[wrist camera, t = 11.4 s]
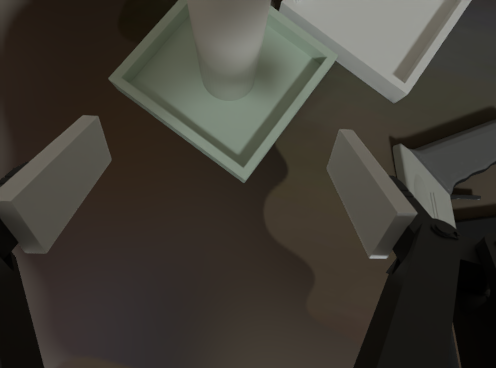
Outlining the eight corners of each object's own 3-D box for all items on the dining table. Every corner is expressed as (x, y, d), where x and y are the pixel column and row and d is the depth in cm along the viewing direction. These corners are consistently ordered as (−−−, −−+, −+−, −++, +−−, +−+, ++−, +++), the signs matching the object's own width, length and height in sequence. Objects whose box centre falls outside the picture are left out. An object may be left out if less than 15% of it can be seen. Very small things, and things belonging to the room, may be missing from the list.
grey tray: (354, -78, 28) (364, -99, 26) (462, 2, 28) (480, -14, 26) (277, 17, 26) (281, 1, 24) (393, 103, 26) (407, 94, 24)
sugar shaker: (222, 40, 25) (218, -145, 12) (265, 71, 25) (306, -81, 12) (190, 79, 24) (147, -75, 11) (233, 111, 24) (241, -6, 11)
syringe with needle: (599, 454, 22) (442, 490, 21) (564, 431, 25) (421, 462, 23) (522, 112, 25) (380, 124, 24) (497, 120, 28) (367, 132, 26)
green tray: (213, -19, 26) (212, -38, 24) (330, 67, 26) (338, 55, 24) (117, 89, 24) (107, 78, 22) (244, 183, 24) (245, 180, 22)
